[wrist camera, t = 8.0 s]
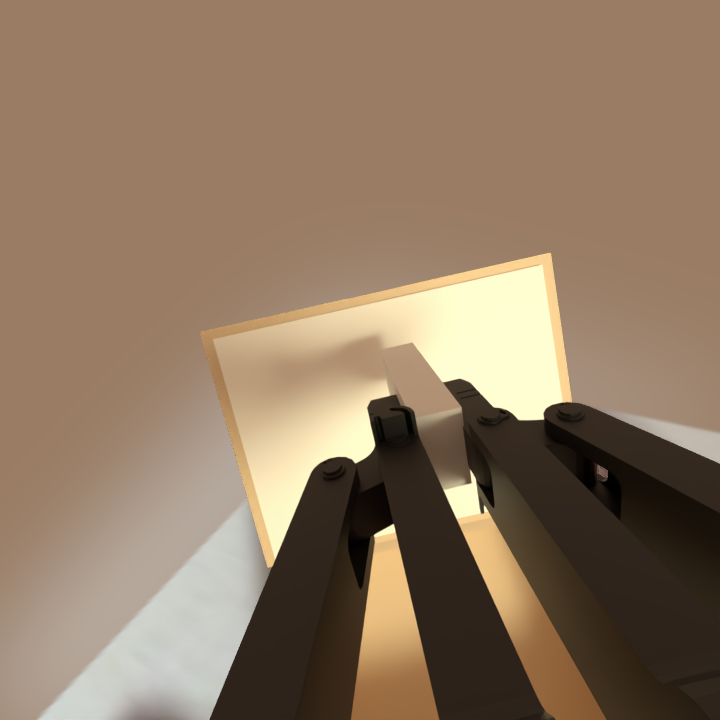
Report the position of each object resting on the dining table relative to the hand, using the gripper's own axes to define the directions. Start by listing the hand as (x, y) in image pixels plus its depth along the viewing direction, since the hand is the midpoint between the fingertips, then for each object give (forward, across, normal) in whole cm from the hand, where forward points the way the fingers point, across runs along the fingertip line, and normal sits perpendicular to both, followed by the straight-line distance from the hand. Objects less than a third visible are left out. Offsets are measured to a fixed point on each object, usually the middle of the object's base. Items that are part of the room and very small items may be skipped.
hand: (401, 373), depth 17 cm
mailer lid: (+2, 0, -3) cm, 4 cm away
